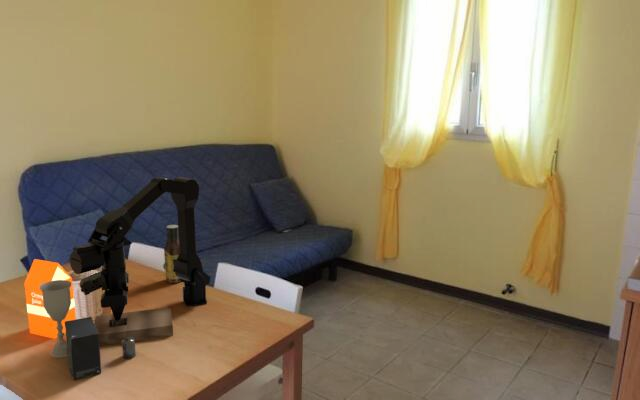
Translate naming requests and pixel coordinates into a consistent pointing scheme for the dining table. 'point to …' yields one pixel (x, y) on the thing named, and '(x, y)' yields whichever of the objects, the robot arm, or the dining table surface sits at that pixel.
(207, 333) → the dining table surface
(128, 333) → the pin board
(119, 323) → the long pin
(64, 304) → the chalice
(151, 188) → the robot arm
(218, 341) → the dining table surface
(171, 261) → the sauce bottle
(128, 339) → the short pin
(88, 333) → the small box
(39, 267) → the orange juice
